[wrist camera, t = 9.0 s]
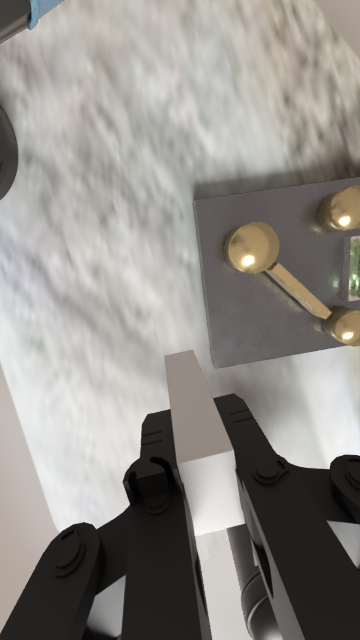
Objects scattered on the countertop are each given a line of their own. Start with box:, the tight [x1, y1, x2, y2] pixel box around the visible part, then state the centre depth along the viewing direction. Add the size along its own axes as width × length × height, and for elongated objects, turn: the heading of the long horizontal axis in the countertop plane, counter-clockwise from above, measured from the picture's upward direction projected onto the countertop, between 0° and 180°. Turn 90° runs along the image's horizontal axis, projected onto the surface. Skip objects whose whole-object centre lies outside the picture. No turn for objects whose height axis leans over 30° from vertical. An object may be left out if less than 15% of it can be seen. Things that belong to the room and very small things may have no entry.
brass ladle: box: [224, 222, 332, 319], centre depth 33 cm, size 17×6×4 cm, turn 51°
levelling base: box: [193, 177, 360, 369], centre depth 34 cm, size 24×24×6 cm
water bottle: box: [227, 517, 283, 640], centre depth 34 cm, size 10×10×23 cm
